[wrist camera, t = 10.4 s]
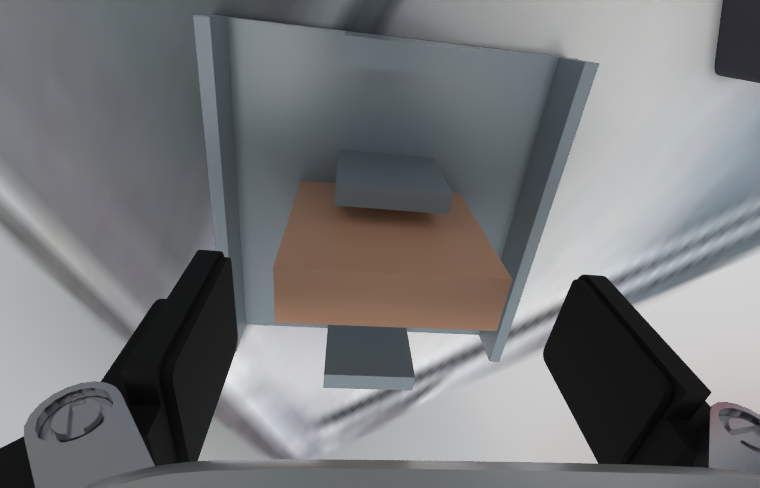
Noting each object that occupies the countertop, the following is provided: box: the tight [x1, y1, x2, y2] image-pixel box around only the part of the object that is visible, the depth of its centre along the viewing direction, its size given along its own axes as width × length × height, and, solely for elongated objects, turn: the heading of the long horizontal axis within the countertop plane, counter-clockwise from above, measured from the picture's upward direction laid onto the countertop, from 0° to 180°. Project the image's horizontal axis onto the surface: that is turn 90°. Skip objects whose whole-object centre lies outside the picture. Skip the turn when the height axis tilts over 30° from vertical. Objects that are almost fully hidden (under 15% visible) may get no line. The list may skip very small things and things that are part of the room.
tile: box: [273, 181, 512, 331], centre depth 15 cm, size 2×7×7 cm, turn 84°
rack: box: [193, 15, 599, 390], centre depth 17 cm, size 14×14×5 cm
